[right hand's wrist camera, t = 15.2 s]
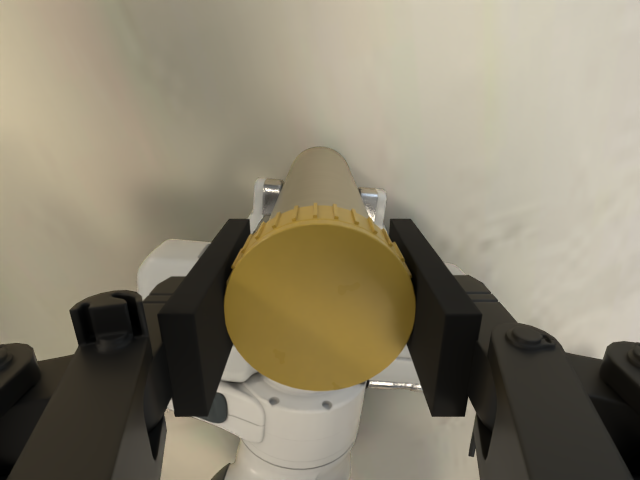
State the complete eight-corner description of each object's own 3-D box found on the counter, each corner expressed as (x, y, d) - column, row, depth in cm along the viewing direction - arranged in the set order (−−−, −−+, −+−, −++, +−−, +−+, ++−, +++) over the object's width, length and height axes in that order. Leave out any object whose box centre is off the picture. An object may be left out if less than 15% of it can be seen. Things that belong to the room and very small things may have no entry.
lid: (285, 377, 13) (281, 418, 11) (201, 249, 11) (180, 275, 10) (430, 317, 12) (447, 352, 11) (361, 170, 11) (370, 183, 9)
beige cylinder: (306, 216, 29) (287, 391, 12) (278, 164, 27) (208, 274, 10) (359, 190, 28) (423, 336, 11) (333, 135, 27) (359, 202, 9)
